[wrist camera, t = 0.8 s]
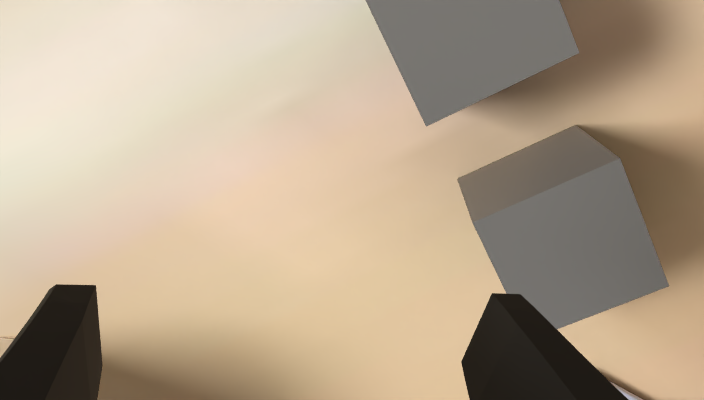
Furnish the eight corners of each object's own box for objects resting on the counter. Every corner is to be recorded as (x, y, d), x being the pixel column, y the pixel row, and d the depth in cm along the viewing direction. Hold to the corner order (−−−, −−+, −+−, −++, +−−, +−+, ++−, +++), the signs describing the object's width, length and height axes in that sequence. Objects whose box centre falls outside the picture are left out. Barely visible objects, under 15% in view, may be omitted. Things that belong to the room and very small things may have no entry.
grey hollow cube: (575, 124, 27) (620, 158, 22) (618, 231, 28) (669, 286, 23) (457, 178, 28) (472, 222, 23) (504, 278, 30) (528, 340, 24)
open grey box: (488, -93, 24) (515, -114, 19) (541, 39, 26) (579, 52, 21) (361, -23, 25) (353, -25, 20) (419, 99, 27) (426, 126, 22)
